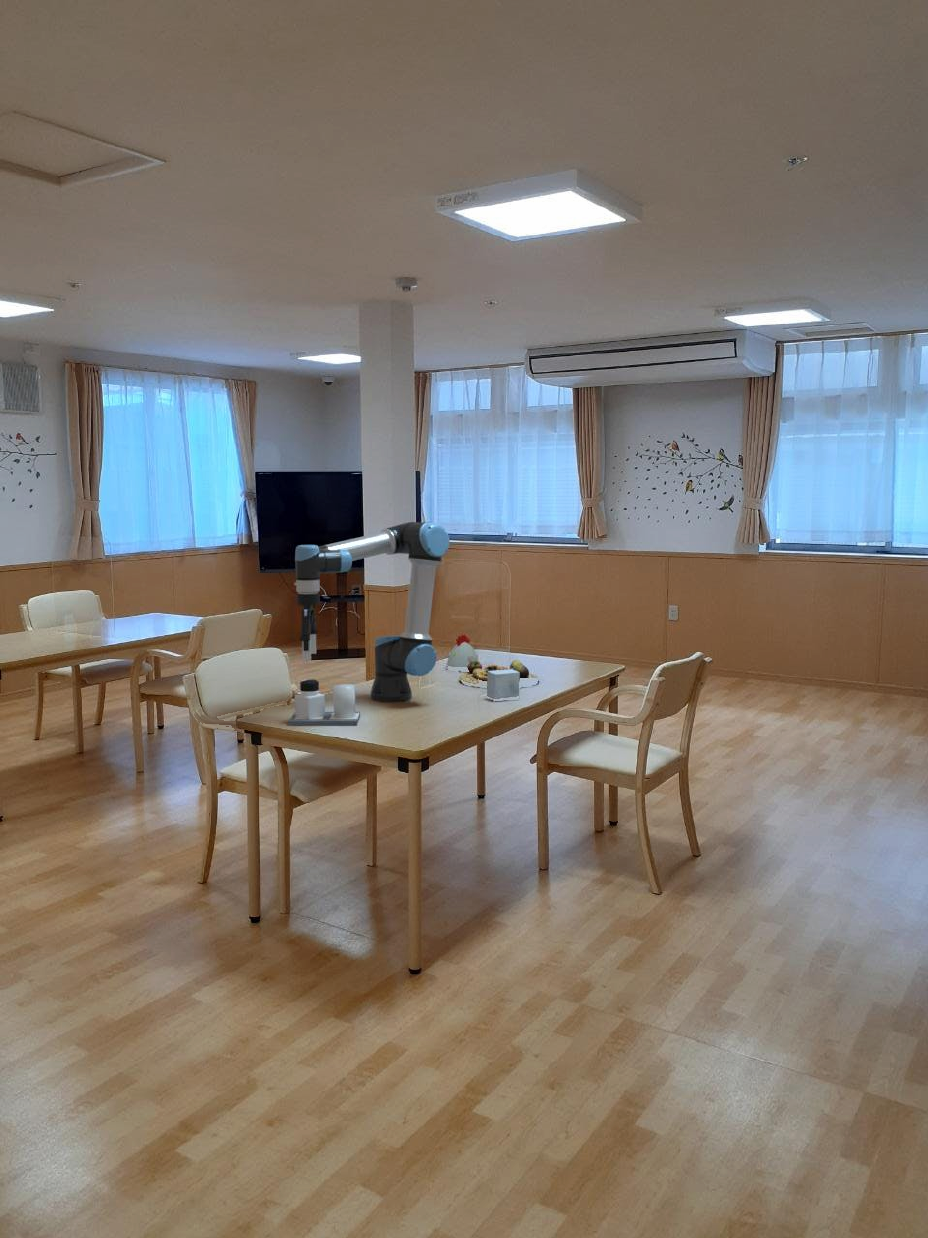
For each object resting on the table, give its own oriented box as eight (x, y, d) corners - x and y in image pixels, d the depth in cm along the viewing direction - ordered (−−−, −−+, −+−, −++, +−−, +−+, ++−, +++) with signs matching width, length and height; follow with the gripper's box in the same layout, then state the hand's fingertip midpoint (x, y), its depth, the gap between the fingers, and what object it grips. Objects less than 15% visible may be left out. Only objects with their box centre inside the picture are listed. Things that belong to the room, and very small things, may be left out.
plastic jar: (356, 713, 339) (356, 684, 338) (353, 718, 332) (353, 688, 331) (336, 713, 339) (335, 684, 338) (332, 718, 332) (331, 688, 331)
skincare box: (494, 702, 366) (494, 673, 364) (486, 699, 372) (486, 670, 370) (520, 700, 370) (520, 671, 369) (511, 696, 376) (512, 668, 375)
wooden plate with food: (443, 680, 409) (443, 660, 408) (506, 671, 427) (506, 652, 426) (490, 695, 383) (491, 673, 382) (555, 685, 401) (556, 664, 400)
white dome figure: (440, 669, 431) (440, 634, 429) (461, 665, 442) (461, 631, 440) (465, 673, 422) (465, 638, 420) (486, 669, 433) (486, 634, 431)
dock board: (360, 716, 343) (360, 711, 343) (356, 725, 329) (356, 720, 329) (294, 716, 342) (294, 711, 342) (288, 725, 329) (288, 720, 328)
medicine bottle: (325, 715, 336) (324, 680, 334) (308, 719, 331) (307, 683, 329) (311, 712, 341) (310, 677, 339) (294, 716, 335) (293, 680, 334)
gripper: (301, 588, 342) (303, 650, 345) (290, 597, 318) (292, 663, 321) (323, 588, 343) (325, 650, 345) (314, 596, 318) (316, 663, 321)
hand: (309, 657), depth 333 cm, fingers open, 13 cm apart
